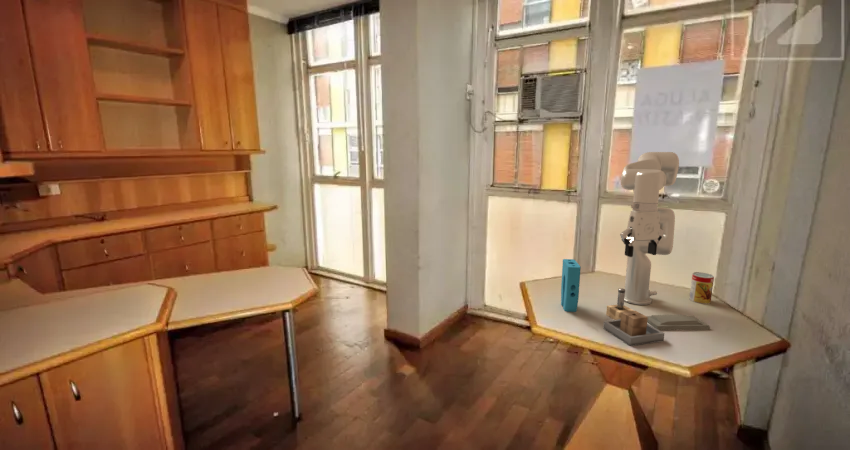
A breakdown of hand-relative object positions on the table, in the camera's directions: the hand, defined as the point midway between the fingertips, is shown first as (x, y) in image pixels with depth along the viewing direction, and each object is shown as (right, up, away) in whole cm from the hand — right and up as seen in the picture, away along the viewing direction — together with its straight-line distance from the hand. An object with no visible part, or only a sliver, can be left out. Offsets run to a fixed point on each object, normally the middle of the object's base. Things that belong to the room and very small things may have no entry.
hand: (640, 255), depth 140 cm
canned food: (+47, -23, +37) cm, 64 cm away
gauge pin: (+3, -27, +21) cm, 34 cm away
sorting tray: (0, -30, +6) cm, 30 cm away
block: (-14, -25, +31) cm, 42 cm away
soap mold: (+21, -29, +14) cm, 39 cm away
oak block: (+3, -27, +21) cm, 34 cm away
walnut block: (0, -29, +6) cm, 30 cm away
